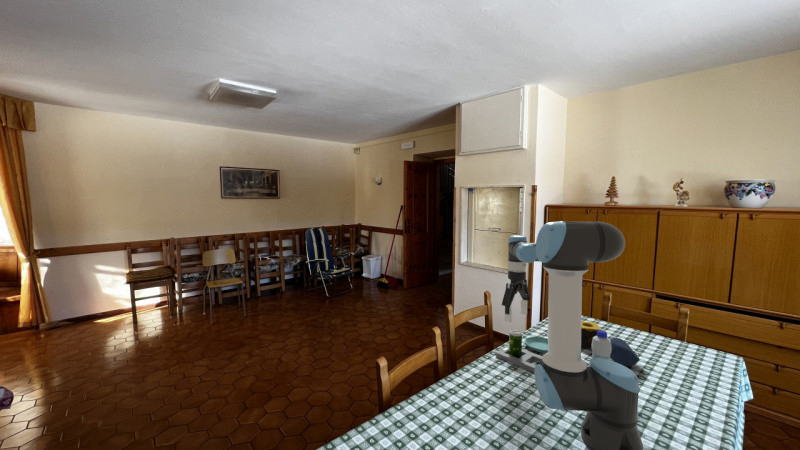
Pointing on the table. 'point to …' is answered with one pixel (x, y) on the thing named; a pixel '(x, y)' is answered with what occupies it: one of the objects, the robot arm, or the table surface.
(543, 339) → the saucer
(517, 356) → the beer can
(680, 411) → the table surface
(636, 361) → the decorative stone
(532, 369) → the socket panel
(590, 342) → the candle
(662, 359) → the table surface
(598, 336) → the bottle
